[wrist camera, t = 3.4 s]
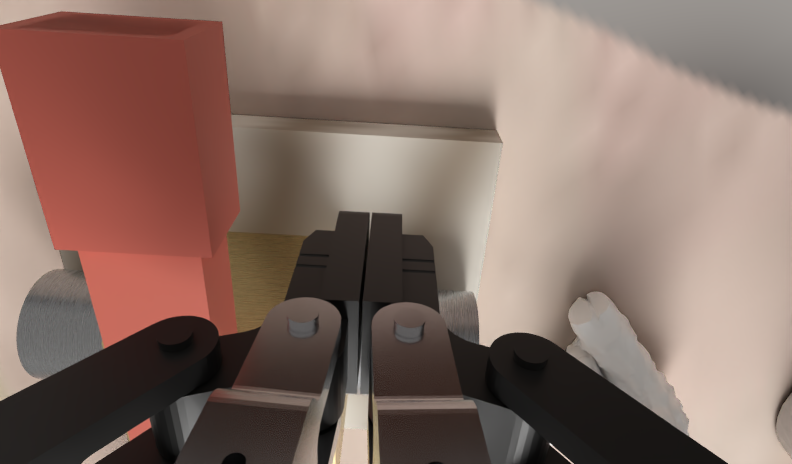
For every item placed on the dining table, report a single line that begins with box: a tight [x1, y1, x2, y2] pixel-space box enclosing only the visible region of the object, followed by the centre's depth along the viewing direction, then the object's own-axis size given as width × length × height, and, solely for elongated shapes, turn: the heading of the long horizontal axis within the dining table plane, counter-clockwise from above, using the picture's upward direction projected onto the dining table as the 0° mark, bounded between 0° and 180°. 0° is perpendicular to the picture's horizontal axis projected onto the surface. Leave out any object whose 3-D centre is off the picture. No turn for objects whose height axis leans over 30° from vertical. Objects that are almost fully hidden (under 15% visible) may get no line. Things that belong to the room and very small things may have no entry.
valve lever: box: [0, 12, 240, 441], centre depth 13 cm, size 15×4×3 cm, turn 177°
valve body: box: [17, 231, 479, 464], centre depth 21 cm, size 17×7×7 cm, turn 87°
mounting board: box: [59, 114, 503, 430], centre depth 24 cm, size 18×16×2 cm
